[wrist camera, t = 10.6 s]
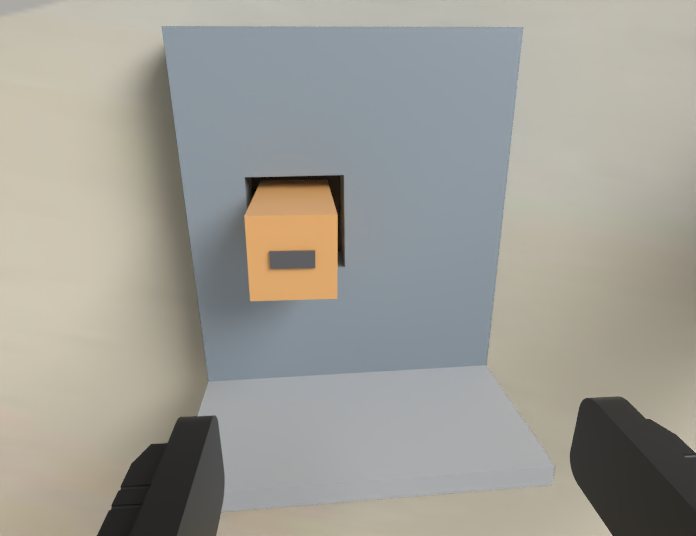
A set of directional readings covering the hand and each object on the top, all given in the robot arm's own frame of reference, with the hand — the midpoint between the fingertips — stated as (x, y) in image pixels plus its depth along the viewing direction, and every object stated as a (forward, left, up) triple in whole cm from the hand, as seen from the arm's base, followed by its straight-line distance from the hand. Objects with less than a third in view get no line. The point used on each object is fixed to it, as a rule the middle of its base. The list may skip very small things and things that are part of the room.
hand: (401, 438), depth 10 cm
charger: (+3, 0, -21) cm, 21 cm away
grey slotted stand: (-1, 0, -21) cm, 21 cm away
